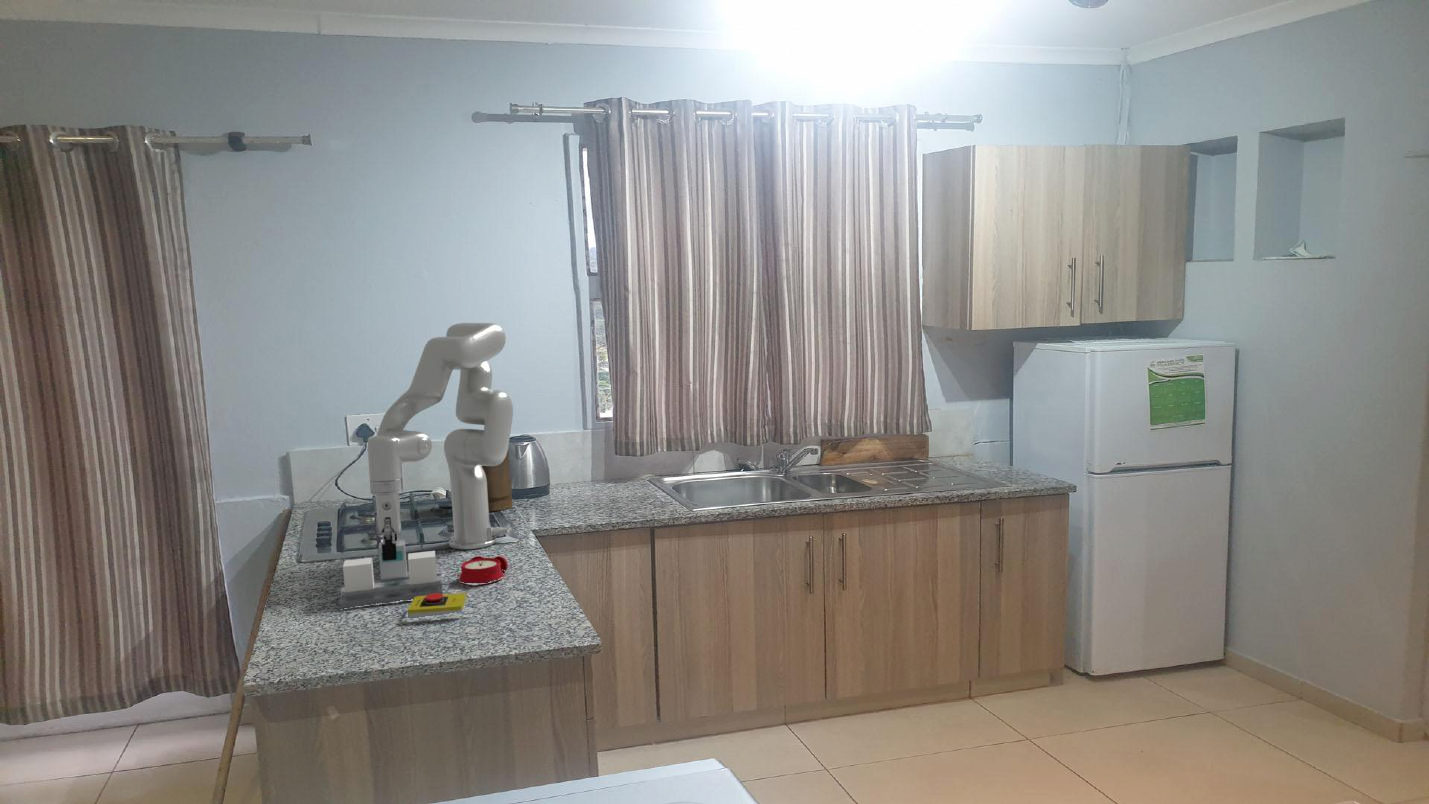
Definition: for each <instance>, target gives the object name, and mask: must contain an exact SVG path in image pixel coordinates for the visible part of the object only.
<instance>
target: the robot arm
mask: <svg viewBox="0 0 1429 804" xmlns="http://www.w3.org/2000/svg"><path fill="white" fill-rule="evenodd" d="M506 337H507V336H506V333H505V331H504V329H503V328H502V327H501V326H500V325H499V324H496V323H492V322H478V323H477V322H461V323H455V324H453V325H450V326H449V327H448V328H447V331H446V335H445V336H437V337H433V338H431V339H429V340H428V341H427V342H426V344H425V345H424V347H423V351H422V353H421V356H420V358H419V361H418V364H417V367H416V369H415V373H414V376H413V378H412V381H411V384H410V386H409V388H408V389H407V390H406V391H405V392H404V393H403V394H401V396H399V398H397V400H396V401H395V402H394V403H393V404H392V405H391V406H390V407H389V408H388V409H387V410H386V412H385V413H384V416H383V418H381V419H382V420H381V423H380V425H379V428H378V431H377V433H376V435H375V436H374V435H373V436H371V437H369V439H368V440H367V456H368V475H369V489H370V490H369V493H370V495H373V496H374V495H375V503H376V504H375V505H376V506H375V507H376V515H377V516H376V518H377V525H378V531H379V535H381V537H382V541H381V542H383V544H382V558H383V561H388V560H396V559H397V554H396V543H395V541H398V535H399V534H400V533H401V531H402V523H401V522H402V520H401V519H402V518H401V503H400V500H401V499H400V493H402V492H403V491H404V485H403V471H402V467H403V466H402V465H403V463H409V462H411V463H412V462H413V463H414V462H419V461H422V460H425V459H426V458H427V457H429V455H430V454H431V451H432V449H433V442H432V440H431V438H430V436H429V435H427V434H426V433H424V432H421V431H418V430H417V431H416V430H406V429H405V428H406V426H407V424H408V423H409V422H410V421H411V420H412V418H413V417H415V416H416V415H417V414H419V413H421V412H423V411H425V410H426V409H429V408H432V407H433V406H435V405H436V404H438V403H440V402H441V401H442V400H443V398H444V396H445V393H446V389H447V387H448V383H449V381H450V378H451V375H452V372H453V370H454V371H455V370H458V371H459V372H460V373H459V384H458V390H457V396H456V403H455V416H456V418H457V419H458V420H459V422H462V423H464V424H468V425H479V426H484V428H483V429H478V428H477V429H476V428H457V429H454V430H453V431H450V432H449V433H448V434H447V436H446V437H445V439H444V442H443V450H444V456H445V458H446V464H447V467H448V472H449V482H450V492H451V494H450V495H451V507H452V508H451V509H452V510H451V511H452V524H453V535H454V536H453V537H451V538H450V539H449V541H448V546H449V547H450V548H451V549H455V550H476V549H477V550H478V549H482V548H483V549H484V548H487V547H490V546H492V545H494V544H495V543H496V542H497V536H503V535H508V527H507V526H506V527H505V526H504V527H502V526H496V527H494V526H492V524H491V522H490V512H489V509H488V493H487V479H486V475H485V472H484V470H483V468H482V466H497V465H499V464H501V463H502V462H503V461H504V459H505V457H506V455H507V451H509V446H510V438H511V431H512V425H513V423H512V422H513V416H514V406H513V402H512V399H511V398H510V395H509V394H508V393H506V392H505V391H502V390H497V389H492V386H493V385H492V384H493V383H492V382H493V370H492V366H491V363H490V361H489V360H490V359H492V358H494V357H496V356H497V355H499V354H501V352H502V351H503V349H504V347H505V345H506V339H507V338H506Z"/></svg>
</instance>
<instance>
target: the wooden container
mask: <svg viewBox="0 0 1429 804" xmlns="http://www.w3.org/2000/svg"><path fill="white" fill-rule="evenodd" d="M482 468H483V470H484V472H485V475H486V479H487V493H488V509H489V513H492V512H499V511H503V510H507V509H509V508H511V507H512V506H513V495H512V491H513V490H512V480H511V469H510V468H511V467H510V453H509V450H508V451H507V455H506V457H505V459H504V461H503V462H502V463H501V464H499V465H497V466H482Z"/></svg>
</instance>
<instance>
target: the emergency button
mask: <svg viewBox="0 0 1429 804" xmlns="http://www.w3.org/2000/svg"><path fill="white" fill-rule="evenodd" d="M466 602H467V603H468V598H467V594H466V593H465V592H459V593H446V594H444V593H443V594H439V593H435V594H430V595H427V596H417V597H415V598H414V599H413V601H411V603H410V605H409V607H408V608H407V610H408V618H419V617H425V616H433V615H443V614H449V613H455V612H462V611H463V609H464V606H465V604H466Z"/></svg>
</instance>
